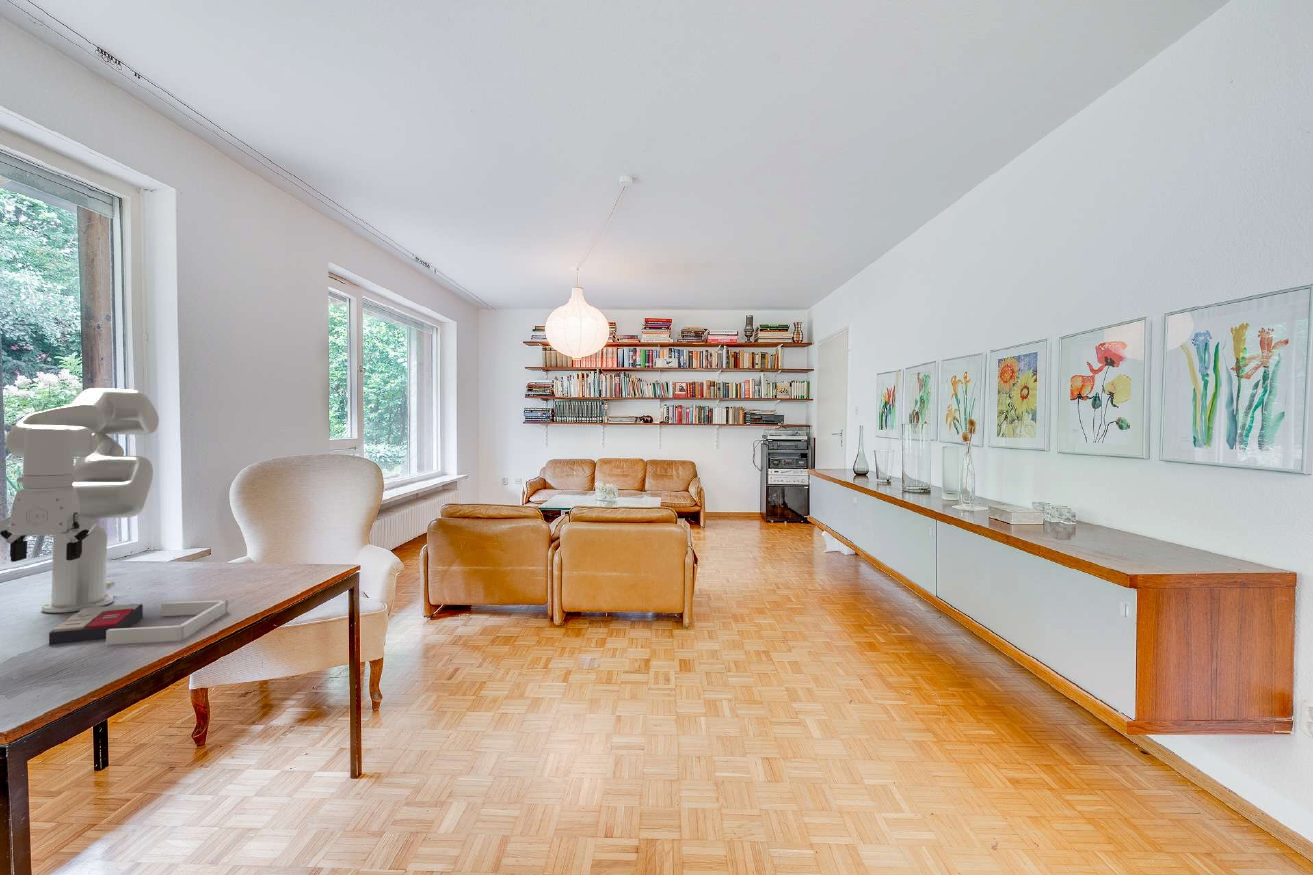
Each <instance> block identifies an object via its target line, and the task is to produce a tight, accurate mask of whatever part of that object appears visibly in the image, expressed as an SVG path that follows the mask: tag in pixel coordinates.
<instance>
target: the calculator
mask: <svg viewBox="0 0 1313 875" xmlns="http://www.w3.org/2000/svg"><path fill="white" fill-rule="evenodd" d="M143 607H144V605H143V604H141V603H129V604H118V605H109V606H108V605H104V606H101V607H93V608H84V609H82V610H81V611H77V612H76V613H74V614H72V615H71V616H70V617H69V618H67V619H66V620H65V621H63V622H61V623H60V624H58V625H57V626H56V627H54V628H53V629H52V630H50V632H48V645H49V646H53V645H62V644H73V643H82V642H92V641H94V642H95V641H102V640H106V630H108V629H118V628H132V627H133V626H134V625H135V624H137V623H138V622H140V621H141V620H142V619H143V618H144V616H143V614H144V611H143V610H144V608H143Z"/></svg>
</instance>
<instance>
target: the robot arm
mask: <svg viewBox="0 0 1313 875" xmlns="http://www.w3.org/2000/svg"><path fill="white" fill-rule="evenodd" d="M159 423H160V422H159V414H158V411H157V410H156V407H155V406H154V405H153V403H152V401H151V400H150V399H149V397H148V396H147V395H146V394H144V393H143V392H142V391H139V390H136V389H124V388H123V389H122V388H121V389H120V388H104V387H95V388H93V387H91V388H87V389H84V390H83V391H81V392H79V393H77V395H75V397H73V398H72V400H71V401H70V402H69V403H68V404H66V405H64V406H59V407H55V408H49V409H47V410H43V411H36V412H33V413H30V414H27V415H25V416H24V417H22V418H20V419H19V420H18V421H17V422H16V423H15V424H14V425H13V426H12V427H11V428H10V429H9V431H8V433H7V435H6V439H5V444H6V445H5V446H6V449H7V450H8V451H9V453H10V454H12V455H13V456H15V457H18V458H23V459H22V460H23V461H22V462H23V465H22V466H23V467H22V476H18V477H17V478H16V483H17V484H21V487H22V488H20V489H17V490H16V492H15V495H14V499H13V502H12V505H11V512H10V516H9V517H7V518H4V519H2V520H0V536H1V537H2V538H4V539H5V540H6V543H7V544H10V545H9V557H10V562H12V563H13V562H15V563H16V562H18V561H22V560H25V559H27V558H28V557H27V556H28V541H27V540H25V539H26V538H27V537H28V536H53V540H52V541H53V544H52V546H53V547H52V571H51V573H52V576H51V600H50V601H48V602H46V603H44V604H42V606H41V611H42V612H44V613H53V614H55V613H56V614H57V613H58V614H59V613H60V614H61V613H71V612H72V613H73V612H79V611H81V610H82V609H84V608H93V607H104V606H108V605H109V604H111V603H112V602H114V596H113V595H111V594H107V591H108V590H110V589H113V588H114V587H115V585H116V584H115V582H114V581H112V580H110V581H106V580H107V579H106V577H107V576H106V575H107V552H108V550H107V549H108V546H107V545H108V536H107V533H106V530H105V529H104V528H103V527H102V526H101V525H100V524H99V523H98V521H96V520H100V519H124V518H132V517H135V516H138V515H139V514H141V512H142V511H143V509H144V507H145V504H146V501H147V497H148V494H149V491H150V489H151V484H152V482H153V476H154V474H153V473H154V469H153V468H154V467H153V465H152V462H151V461H150V460H149V459H148V458H147V457H144V456H139V455H125V451H124V448H123V447H122V446H121V445H120V444H119V443H118V441H116V440H115V439H114V438H112V437H111V436H109V435H131V436H134V435H139V436H140V435H142V436H143V435H144V436H147V435H151V434H153V433H154V432H156V431H157V429H158V427H159ZM75 459H76V460H75ZM74 461H75V462H74Z"/></svg>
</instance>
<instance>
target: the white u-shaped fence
mask: <svg viewBox="0 0 1313 875" xmlns="http://www.w3.org/2000/svg"><path fill="white" fill-rule="evenodd" d="M228 605H229V600H228V599H226V600H225V599H224V600H203V601H202V600H199V601H198V600H197V601H177V602H175V601H174V602H173V601H171V602H163V603H161V617H170V616H171V617H172V616H193V617H192V618H190V619H188V620H186V621H185V622H183V623H181V624H180V625H168V626H167V625H166V626H164V625H163V626H145V627H144V626H143V627H142V626H141V627H140V626H139V627H130V628H118V629H108V630H106V639H105V645H123V644H146V643H161V642H162V643H163V642H166V643H167V642H180V641H183V640H185V639H186V638H188V637H190V636H192V635H193V634H195V633H196V632H197V631H200V630H201V629H202V628H204V627H206V626H208V625H209V624H211V623H212V622H214V621H215V619H216V620H217V619H218V618H220V617H222V616H224V615H225V614H227V613H228V611H229V610H228V608H229V606H228ZM195 615H196V616H195Z"/></svg>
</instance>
